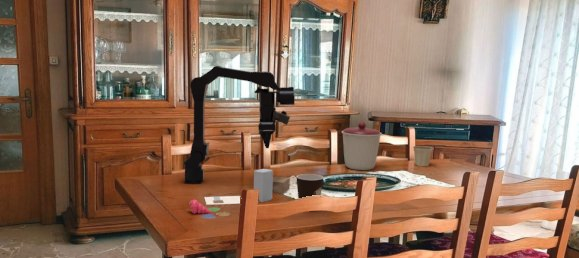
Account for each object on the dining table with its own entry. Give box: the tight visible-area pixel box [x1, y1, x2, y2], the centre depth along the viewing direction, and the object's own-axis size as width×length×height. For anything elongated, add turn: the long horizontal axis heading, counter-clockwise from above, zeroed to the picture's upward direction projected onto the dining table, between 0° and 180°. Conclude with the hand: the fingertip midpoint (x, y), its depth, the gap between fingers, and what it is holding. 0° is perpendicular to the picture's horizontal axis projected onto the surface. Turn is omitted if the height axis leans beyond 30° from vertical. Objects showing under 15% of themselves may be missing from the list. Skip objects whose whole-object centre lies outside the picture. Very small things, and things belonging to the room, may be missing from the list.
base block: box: [272, 175, 291, 195], centre depth 180 cm, size 8×8×4 cm
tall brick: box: [253, 168, 274, 203], centre depth 166 cm, size 4×5×10 cm
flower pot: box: [412, 145, 434, 167], centre depth 235 cm, size 9×9×9 cm
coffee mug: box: [296, 173, 325, 199], centre depth 159 cm, size 12×9×10 cm
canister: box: [341, 121, 383, 171], centre depth 223 cm, size 18×18×21 cm
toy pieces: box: [188, 199, 231, 220], centre depth 149 cm, size 12×11×4 cm
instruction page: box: [204, 195, 241, 206], centre depth 164 cm, size 12×9×1 cm
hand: (267, 146), depth 187 cm, fingers open, 9 cm apart
